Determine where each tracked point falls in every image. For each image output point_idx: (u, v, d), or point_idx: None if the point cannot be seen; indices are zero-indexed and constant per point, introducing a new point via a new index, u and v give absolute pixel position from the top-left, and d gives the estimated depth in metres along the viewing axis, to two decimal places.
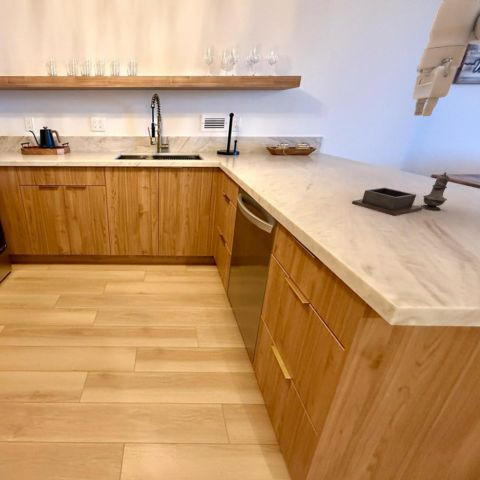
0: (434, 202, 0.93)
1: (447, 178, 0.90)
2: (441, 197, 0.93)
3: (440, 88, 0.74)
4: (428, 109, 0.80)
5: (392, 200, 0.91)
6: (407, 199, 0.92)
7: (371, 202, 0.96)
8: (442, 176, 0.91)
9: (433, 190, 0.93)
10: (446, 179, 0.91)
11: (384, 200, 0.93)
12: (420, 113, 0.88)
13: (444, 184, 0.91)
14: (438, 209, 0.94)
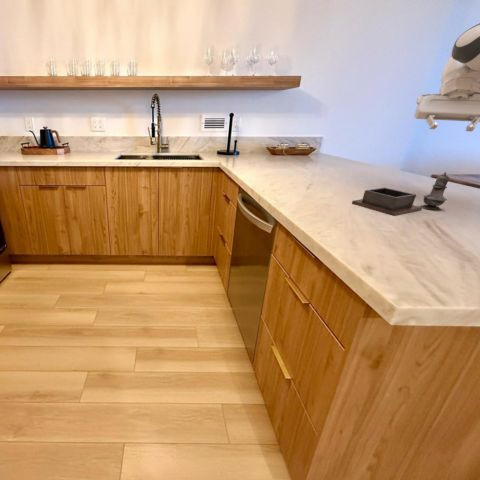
0: (434, 202, 0.93)
1: (447, 178, 0.90)
2: (441, 197, 0.93)
3: (416, 111, 1.00)
4: (430, 123, 0.97)
5: (392, 200, 0.91)
6: (407, 199, 0.92)
7: (371, 202, 0.96)
8: (442, 176, 0.91)
9: (433, 190, 0.93)
10: (446, 179, 0.91)
11: (384, 200, 0.93)
12: (468, 127, 0.92)
13: (444, 184, 0.91)
14: (438, 209, 0.94)
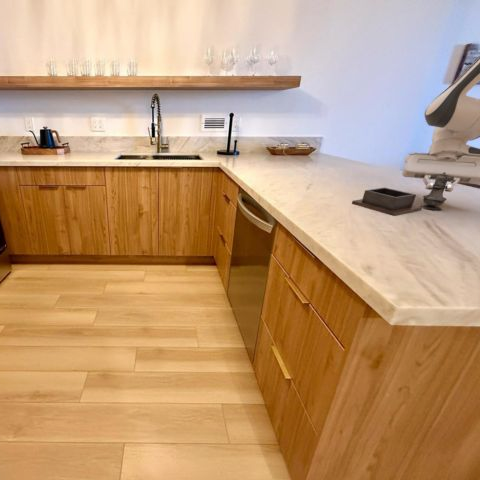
0: (433, 202, 0.93)
1: (446, 178, 0.91)
2: (441, 197, 0.93)
3: (403, 169, 0.99)
4: (426, 184, 0.95)
5: (392, 200, 0.91)
6: (407, 199, 0.92)
7: (371, 202, 0.96)
8: (441, 176, 0.91)
9: (433, 190, 0.93)
10: (445, 179, 0.91)
11: (384, 200, 0.93)
12: (446, 188, 0.91)
13: (443, 184, 0.91)
14: (438, 209, 0.94)
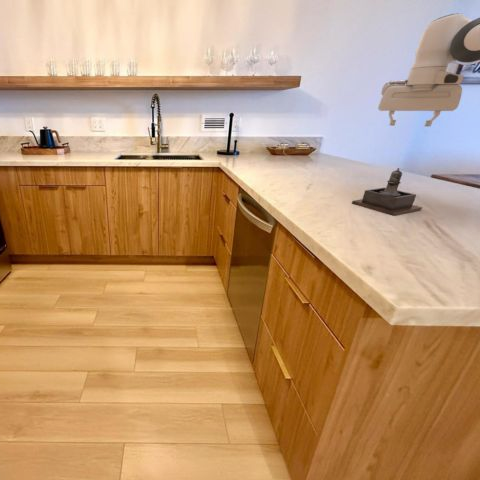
0: None
1: (400, 174, 0.92)
2: (395, 192, 0.94)
3: None
4: None
5: (392, 200, 0.91)
6: (407, 199, 0.92)
7: (371, 202, 0.96)
8: (395, 172, 0.92)
9: (388, 185, 0.95)
10: (399, 175, 0.92)
11: (384, 200, 0.93)
12: (425, 124, 0.94)
13: (397, 179, 0.93)
14: None
